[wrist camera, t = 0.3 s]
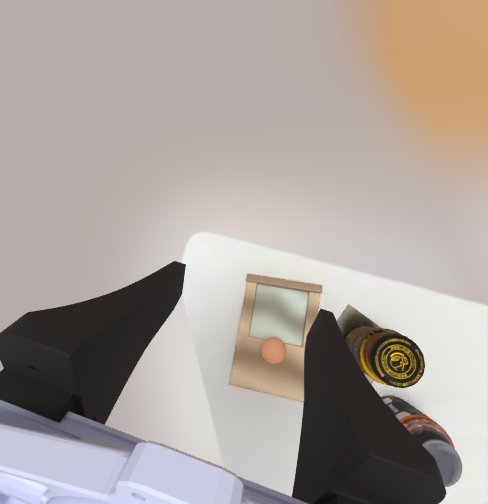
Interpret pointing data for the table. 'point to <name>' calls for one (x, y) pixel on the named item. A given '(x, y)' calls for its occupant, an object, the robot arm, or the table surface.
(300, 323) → the board
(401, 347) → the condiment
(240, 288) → the table surface
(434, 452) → the supplement bottle
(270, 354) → the ball
